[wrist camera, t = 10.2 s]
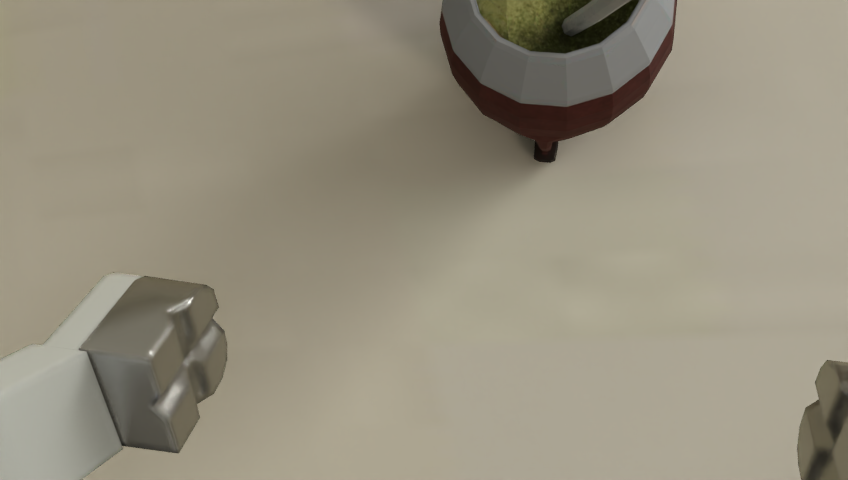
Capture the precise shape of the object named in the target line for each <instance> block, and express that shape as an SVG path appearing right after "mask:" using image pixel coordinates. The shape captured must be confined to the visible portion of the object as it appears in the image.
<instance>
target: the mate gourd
mask: <svg viewBox="0 0 848 480" xmlns="http://www.w3.org/2000/svg"><path fill="white" fill-rule="evenodd" d="M676 6H677V0H443V2H442V9H441V10H442V11H441V18H440V32H441V37H442V41H443V44H444V47H445V51H446V54H447V57H448V61H449V64H450V68H451V71H452V74H453V76H454V78H455V79H456V81H457V83H458V84H459V85H460V87H461V88H462V89H463V90H464V91H465V93H466V94H467V95H468V96H469V98H470V99H471V100H472V101H473V102H474V104H475V105H476V106H477V107H478V109H479V110H480V111H481V112H482V113H483V115H485V116H487V117H489V118H491V119H493V120H495V121H497V122H498V123H500V124H502V125H504V126H505V127H507V128H509V129H511V130H512V131H514V132H516V133H518V134H519V135H522V136H525V137H527V138H530V139H533V140H535V147H534V159H535V160H537V161H539V162H553V161H555V158H556V153H557V147H558V141H561V140H565V139H569V138H572V137H575V136H578V135H581V134H584V133H586V132H589V131H592V130H595V129H598V128H601V127H603V126H605V125H607V124H608V123H610V122H611V121H612V120H614V119H615V118H616V117H618V116H619V115H620V114H622V113H623V112H624V111H626V110H627V109H628V108H630V107H631V106H632V105H634V104H635V103H636V102H638V101H639V100H640V99H641V98H643V97H644V95H645V94H646V92H647V91H648V89H649V88H650V86H651V84H652V83H653V81H654V79H655V77H656V76H657V74H658V72H659V71H660V69H661V67H662V66H663V64H664V62H665V61H666V59H667V57H668V55H669V54H670V52H671V50H672V45H673V38H674V27H675V16H676Z"/></svg>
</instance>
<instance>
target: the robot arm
mask: <svg viewBox="0 0 848 480" xmlns="http://www.w3.org/2000/svg"><path fill="white" fill-rule="evenodd" d="M218 308H219V306H218V302H217V299H216V295H215V292H214V289H213V288H211V287H209V286H207V285H204V284H197V283H190V282H183V281H176V280H169V279H163V278H156V277H149V276H144V277H143V276H137V275H130V274H124V273H117V272H113V273H110V274H107V275H105V276H103V277H102V278H101V279H100V280H99V282H98V283H97V284H96V285H95V286H94V287H93V288H92V289H91V291H90V292H89V293H88V294H87V295H86V296H85V297H84V298H83V300H82V301H81V302H80V303H79V304H78V305H77V306H76V307H75V309H74V310H73V311H72V312H71V313H70V314H69V315H68V316H67V318H66V319H65V320H64V321H63V322H62V323H61V324H60V325H59V327H58V328H57V329H56V330H55V331H54V332H53V333H52V334H51V336H50V337H49V338H48V339H47V340H46V341H45V342H44V343H43V345H38V344H31V345H29V346H27V347H24V348H22V349H20V350H18V351H16V352H14V353H12V354H10V355H7V356H5V357H3V358H1V359H0V480H81V479H83V478H84V477H85V476H87V475H88V474H90V473H91V472H92V471H94V470H95V469H96V468H98V467H99V466H100V465H102V464H103V463H105V462H106V461H107V460H109V459H110V458H111V457H113V456H114V455H115V454H117V453H118V452H120V451H121V450H122V449H123V447H122V446H128V447H135V448H142V449H150V450H157V451H164V452H172V453H179V452H180V450H181V449H182V447H183V445H184V444H185V442H186V440H187V439H188V437H189V435H190V434H191V432H192V430H193V428H194V427H195V425H196V423H197V422H198V420H199V418H200V415H199V411H198V407H197V404H198V403H199V402H201V401H203V400H204V399H206V398H208V397H209V396H211V395H213V394H214V392H215V391H216V389H217V387H218V385H219V383H220V382H221V380H222V377H223V373H224V370H225V366H226V362H227V341H226V336H225V331H224V330H223V329H222V328H221V327H220V326H219V325H218V324H217V323H216V322H215V321H214V319H213V318H212V317H213V316H214V314H215V312H216V311H217V309H218ZM815 385H816V389H817V393H818V397H819V400H818V401H816V402H814V403H813V404H811V405H809V406H808V407H806V408H805V411H804V414H803V418H802V421H801V424H800V427H799V436H798V445H797V452H798V466H799V471H800V476H801V480H848V362H840V361H831V360H827V361H826V362H825V363H824V364H823V366H822V367H821V368H820V371H819V373H818V376H817V378H816V381H815Z"/></svg>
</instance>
